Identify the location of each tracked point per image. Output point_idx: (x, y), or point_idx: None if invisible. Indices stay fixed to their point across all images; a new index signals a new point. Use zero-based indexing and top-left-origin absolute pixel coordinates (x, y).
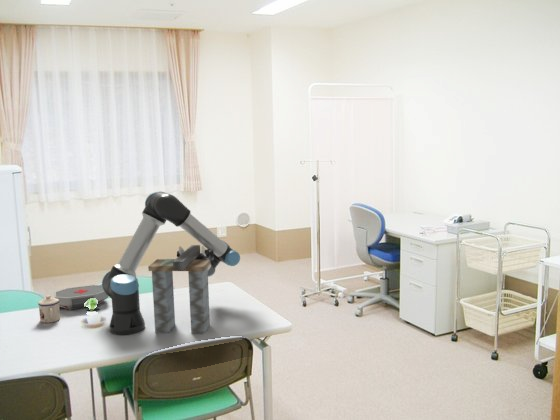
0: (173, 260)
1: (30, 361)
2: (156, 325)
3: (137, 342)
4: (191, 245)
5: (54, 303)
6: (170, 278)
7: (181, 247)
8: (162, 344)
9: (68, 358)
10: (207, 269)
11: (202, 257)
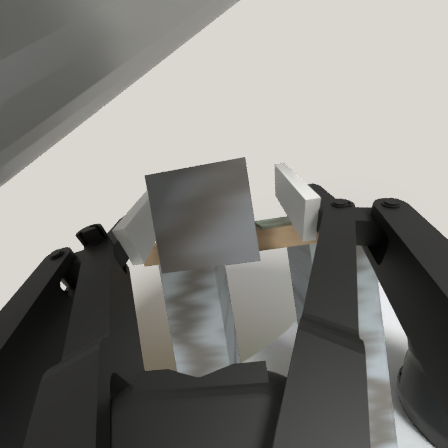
0: (287, 220)
1: None
2: None
3: None
4: (241, 162)
5: None
6: (304, 282)
7: (279, 171)
8: (283, 347)
9: (384, 300)
10: (162, 281)
11: (133, 370)
